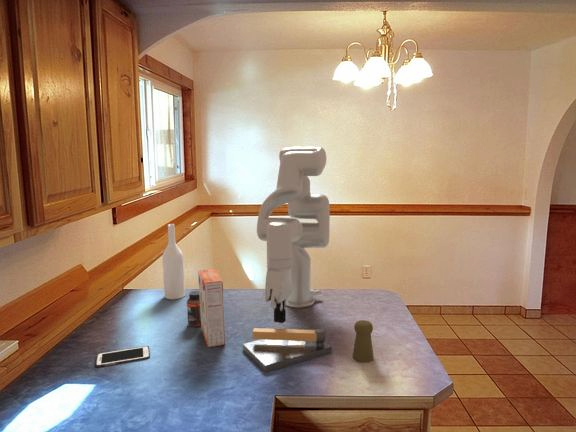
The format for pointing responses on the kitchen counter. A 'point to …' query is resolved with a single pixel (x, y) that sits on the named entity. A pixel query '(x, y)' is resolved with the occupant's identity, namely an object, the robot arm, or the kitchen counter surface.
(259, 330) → the wooden bar
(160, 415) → the kitchen counter surface
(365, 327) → the cork
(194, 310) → the supplement bottle
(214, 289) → the cracker box
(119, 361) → the cell phone
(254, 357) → the plate
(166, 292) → the bottle
